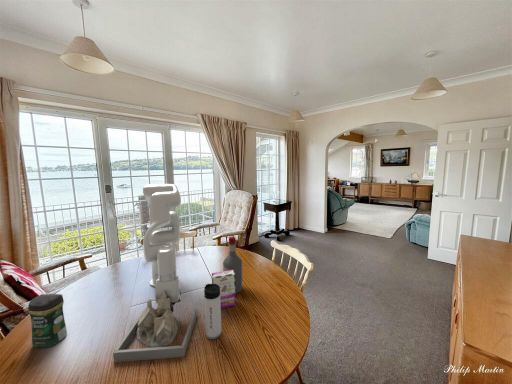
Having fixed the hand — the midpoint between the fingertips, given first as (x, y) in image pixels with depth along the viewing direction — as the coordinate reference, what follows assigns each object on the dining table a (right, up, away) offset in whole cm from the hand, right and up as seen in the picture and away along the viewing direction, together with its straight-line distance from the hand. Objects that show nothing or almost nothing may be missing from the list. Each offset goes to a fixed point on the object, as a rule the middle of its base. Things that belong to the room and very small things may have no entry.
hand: (169, 314), depth 93 cm
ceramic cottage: (-2, -3, -9) cm, 9 cm away
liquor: (+26, 0, +22) cm, 34 cm away
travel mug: (+22, -3, -9) cm, 24 cm away
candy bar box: (+23, -1, +9) cm, 25 cm away
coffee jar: (-42, -4, -12) cm, 44 cm away
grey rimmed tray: (+1, -3, -10) cm, 10 cm away
